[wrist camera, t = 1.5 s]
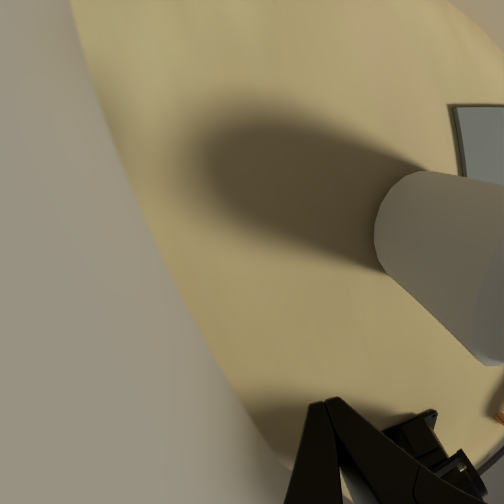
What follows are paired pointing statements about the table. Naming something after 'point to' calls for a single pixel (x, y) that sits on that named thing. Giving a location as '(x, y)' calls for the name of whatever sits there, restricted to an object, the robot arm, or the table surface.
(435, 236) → the can
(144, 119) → the table surface
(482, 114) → the mat
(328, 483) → the robot arm
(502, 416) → the arch
